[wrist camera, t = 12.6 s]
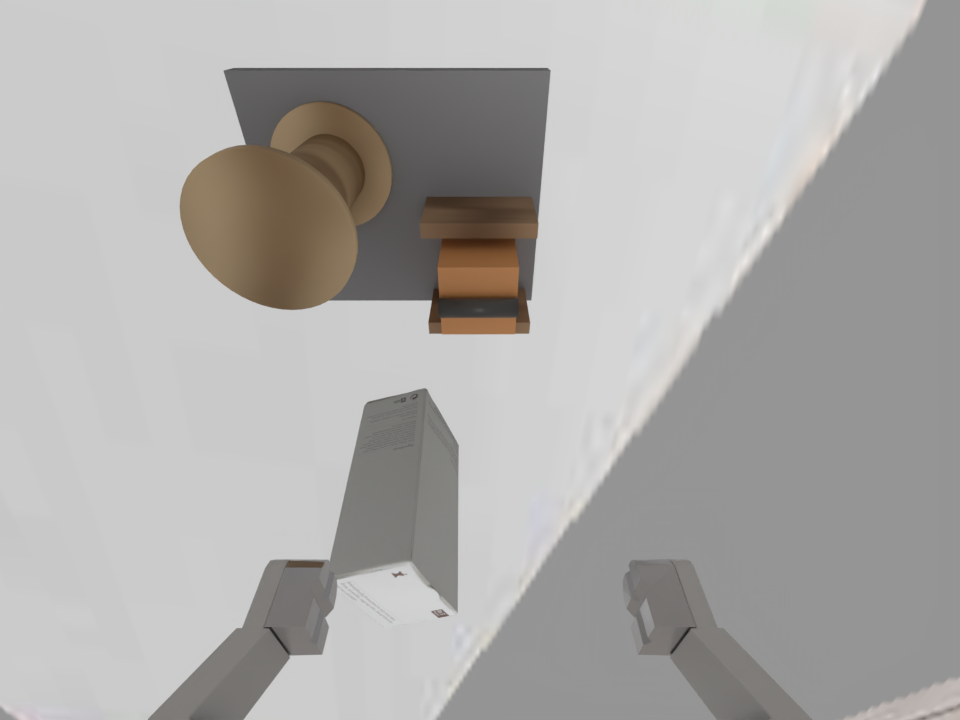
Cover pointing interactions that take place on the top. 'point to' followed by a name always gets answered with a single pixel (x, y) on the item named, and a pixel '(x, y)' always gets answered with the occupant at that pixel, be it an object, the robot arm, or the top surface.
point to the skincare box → (400, 514)
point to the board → (418, 152)
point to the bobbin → (288, 206)
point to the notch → (479, 233)
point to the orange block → (478, 286)
